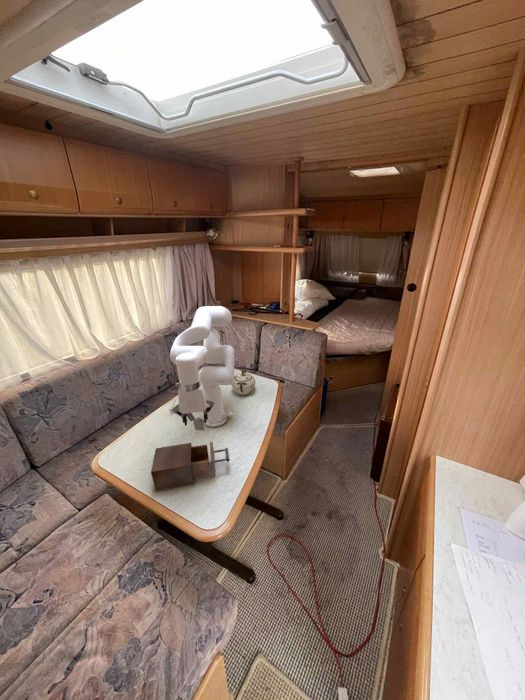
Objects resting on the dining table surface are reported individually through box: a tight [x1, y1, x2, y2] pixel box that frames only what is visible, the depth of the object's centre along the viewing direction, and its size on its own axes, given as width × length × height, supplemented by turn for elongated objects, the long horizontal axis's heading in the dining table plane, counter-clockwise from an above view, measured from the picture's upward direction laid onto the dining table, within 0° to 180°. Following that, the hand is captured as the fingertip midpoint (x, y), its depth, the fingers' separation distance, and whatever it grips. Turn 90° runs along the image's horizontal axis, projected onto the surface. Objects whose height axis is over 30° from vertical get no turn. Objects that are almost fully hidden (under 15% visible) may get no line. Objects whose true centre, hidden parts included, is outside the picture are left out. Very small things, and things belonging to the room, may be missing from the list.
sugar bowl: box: [230, 369, 256, 396], centre depth 169 cm, size 20×15×15 cm
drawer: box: [191, 441, 230, 480], centre depth 114 cm, size 20×11×8 cm, turn 102°
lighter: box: [186, 413, 206, 431], centre depth 111 cm, size 7×2×8 cm, turn 78°
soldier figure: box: [168, 399, 180, 413], centre depth 156 cm, size 8×5×12 cm
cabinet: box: [150, 442, 195, 492], centre depth 112 cm, size 15×13×10 cm
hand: (195, 421), depth 111 cm, fingers closed on lighter, 7 cm apart
